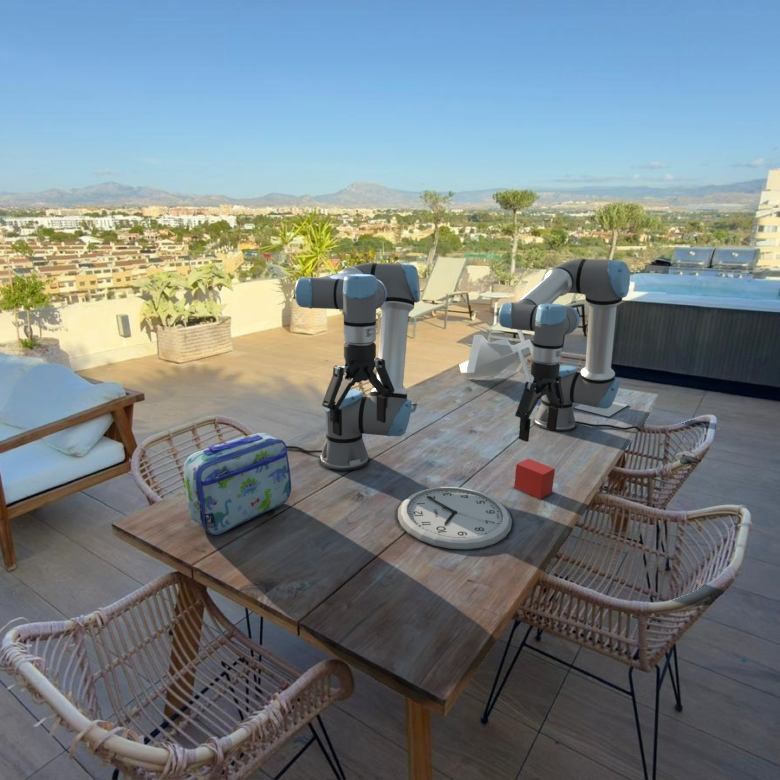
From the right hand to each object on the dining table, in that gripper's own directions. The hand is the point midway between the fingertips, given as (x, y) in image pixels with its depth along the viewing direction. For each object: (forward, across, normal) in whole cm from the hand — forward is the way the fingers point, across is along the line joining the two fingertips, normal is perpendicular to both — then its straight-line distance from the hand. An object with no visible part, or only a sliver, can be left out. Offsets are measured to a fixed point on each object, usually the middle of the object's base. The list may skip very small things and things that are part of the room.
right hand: (537, 434), depth 148 cm
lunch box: (+18, -72, +40) cm, 84 cm away
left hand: (-8, -49, +19) cm, 53 cm away
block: (+17, 0, 0) cm, 17 cm away
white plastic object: (+17, +78, +73) cm, 108 cm away
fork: (+17, +22, +76) cm, 81 cm away
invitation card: (+17, +88, +25) cm, 93 cm away
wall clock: (+18, -29, +4) cm, 34 cm away
